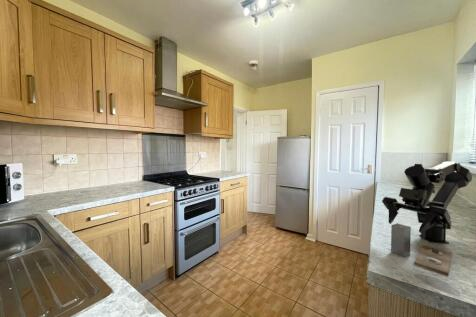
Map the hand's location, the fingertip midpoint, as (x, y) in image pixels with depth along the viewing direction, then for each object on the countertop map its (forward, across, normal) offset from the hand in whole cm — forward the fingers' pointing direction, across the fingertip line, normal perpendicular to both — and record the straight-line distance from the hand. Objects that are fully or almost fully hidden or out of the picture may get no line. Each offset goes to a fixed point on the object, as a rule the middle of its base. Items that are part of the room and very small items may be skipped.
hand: (403, 227), depth 71 cm
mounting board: (+4, +7, +9) cm, 12 cm away
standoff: (+8, 0, +5) cm, 9 cm away
